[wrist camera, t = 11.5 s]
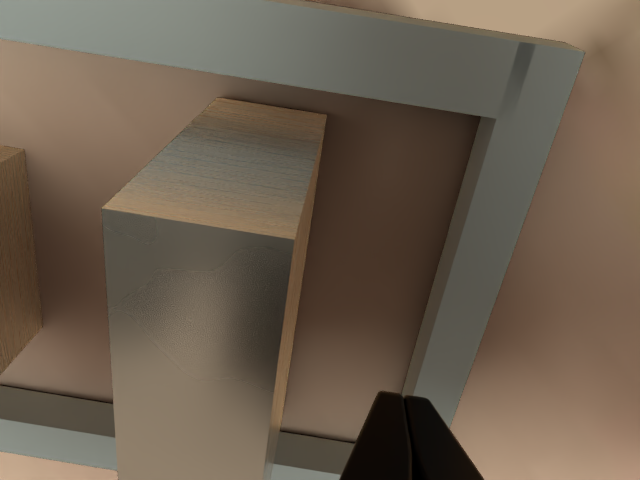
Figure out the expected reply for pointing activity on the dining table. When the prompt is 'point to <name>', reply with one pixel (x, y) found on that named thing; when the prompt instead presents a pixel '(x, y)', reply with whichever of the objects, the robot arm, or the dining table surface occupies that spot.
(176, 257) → the block
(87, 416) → the vise
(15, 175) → the block
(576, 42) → the dining table surface
